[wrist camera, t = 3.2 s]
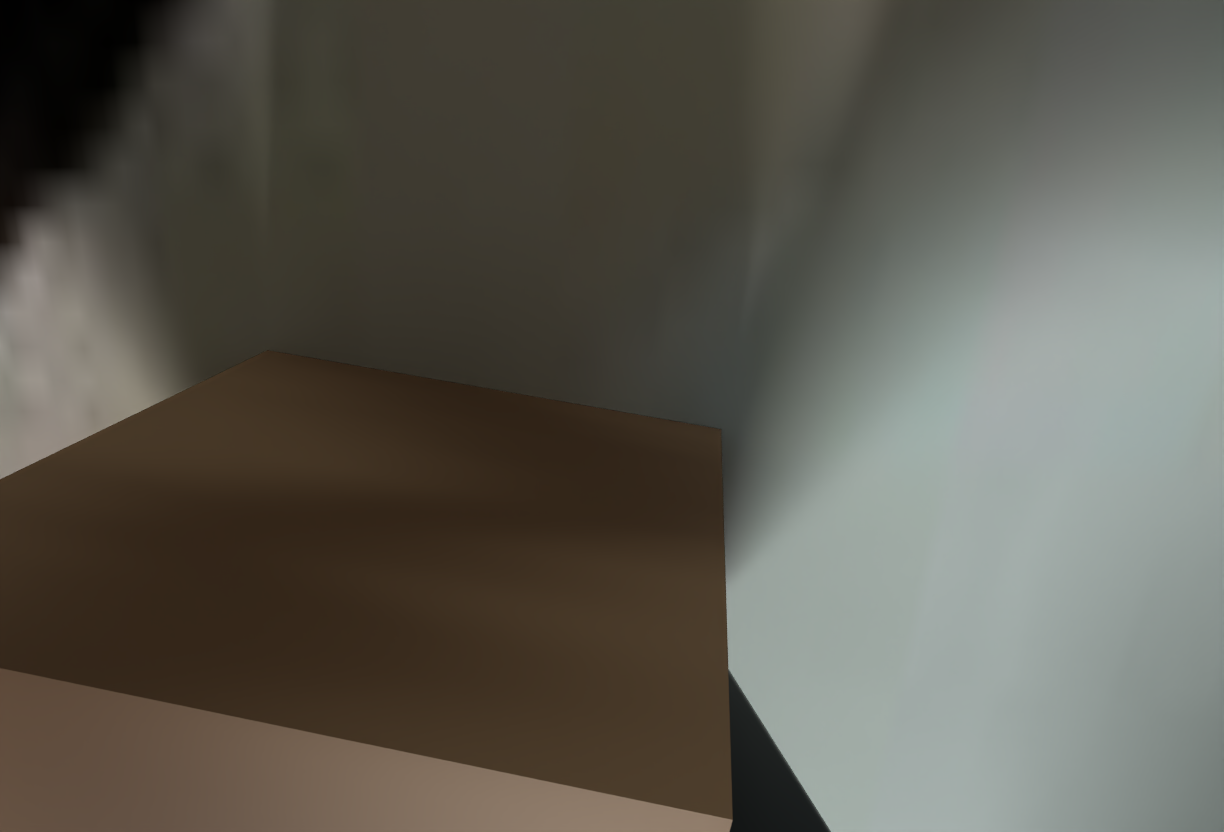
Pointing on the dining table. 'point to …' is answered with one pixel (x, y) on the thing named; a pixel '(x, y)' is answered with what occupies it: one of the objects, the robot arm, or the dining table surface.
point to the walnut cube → (366, 614)
